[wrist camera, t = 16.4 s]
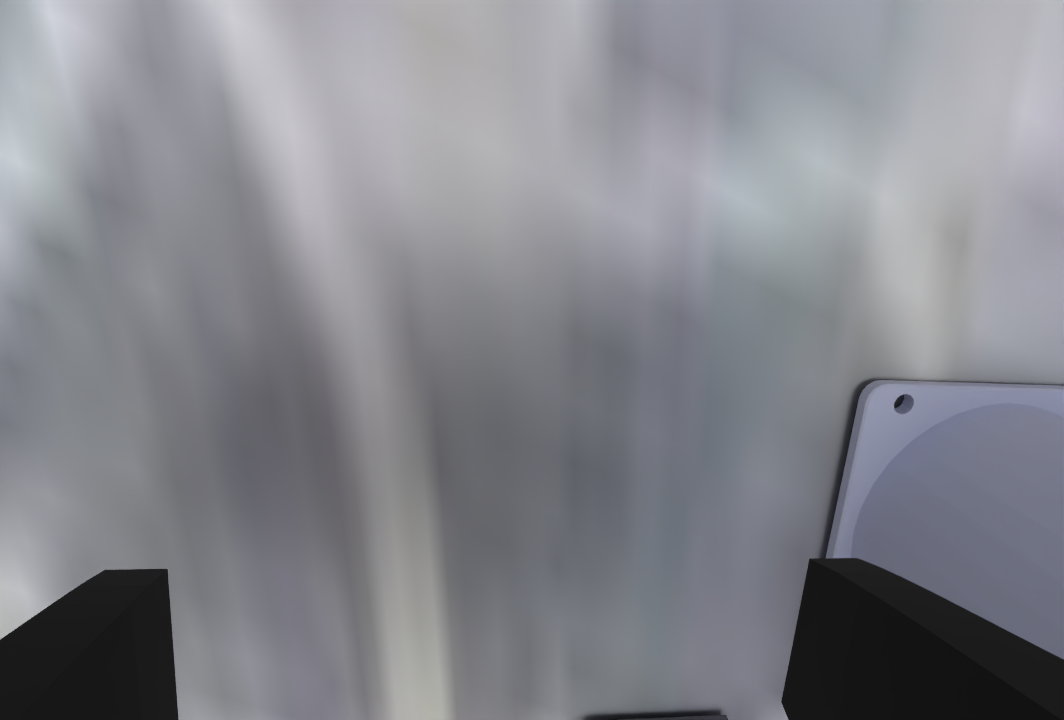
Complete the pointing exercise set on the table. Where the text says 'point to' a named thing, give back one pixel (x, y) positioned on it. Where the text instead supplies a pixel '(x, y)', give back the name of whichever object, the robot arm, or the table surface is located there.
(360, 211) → the table surface
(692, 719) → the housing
